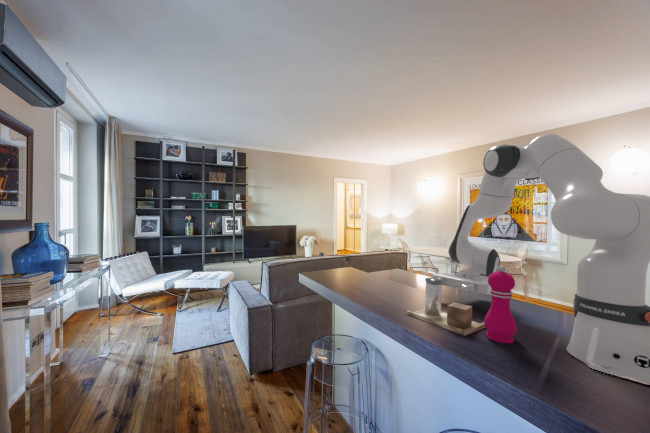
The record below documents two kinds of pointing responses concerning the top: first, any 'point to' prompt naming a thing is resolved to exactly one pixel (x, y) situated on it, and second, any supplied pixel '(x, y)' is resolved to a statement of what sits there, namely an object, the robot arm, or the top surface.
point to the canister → (433, 296)
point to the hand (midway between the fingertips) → (450, 285)
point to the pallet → (445, 322)
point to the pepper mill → (500, 307)
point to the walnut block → (459, 315)
